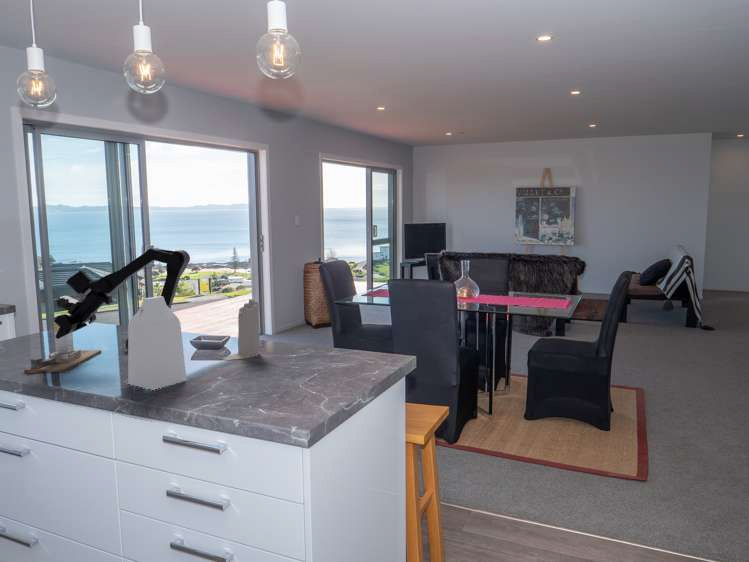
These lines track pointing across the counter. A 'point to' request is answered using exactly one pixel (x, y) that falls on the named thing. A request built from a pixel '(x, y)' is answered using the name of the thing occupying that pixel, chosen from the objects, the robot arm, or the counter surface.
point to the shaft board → (60, 361)
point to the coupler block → (63, 342)
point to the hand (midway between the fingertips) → (59, 336)
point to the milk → (155, 346)
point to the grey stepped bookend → (247, 332)
